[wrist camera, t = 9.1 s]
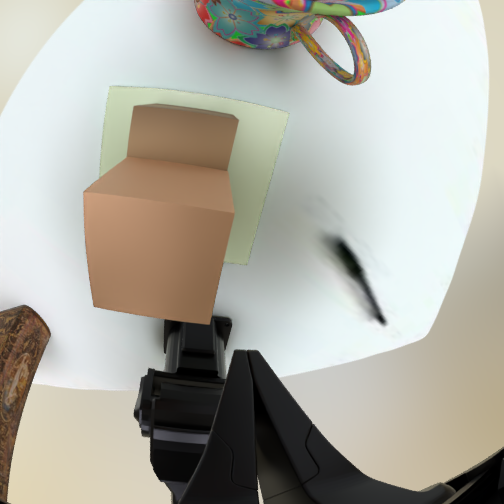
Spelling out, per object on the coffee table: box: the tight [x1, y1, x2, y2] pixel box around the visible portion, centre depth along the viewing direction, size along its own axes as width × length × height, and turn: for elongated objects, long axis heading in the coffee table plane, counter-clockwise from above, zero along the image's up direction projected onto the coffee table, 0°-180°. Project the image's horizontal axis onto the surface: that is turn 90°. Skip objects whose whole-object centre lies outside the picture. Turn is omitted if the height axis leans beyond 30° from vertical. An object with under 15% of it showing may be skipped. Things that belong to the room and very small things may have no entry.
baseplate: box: [99, 86, 289, 265], centre depth 18 cm, size 12×12×1 cm
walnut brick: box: [127, 103, 239, 171], centre depth 15 cm, size 10×5×5 cm, turn 166°
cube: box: [83, 157, 235, 325], centre depth 11 cm, size 5×5×5 cm
